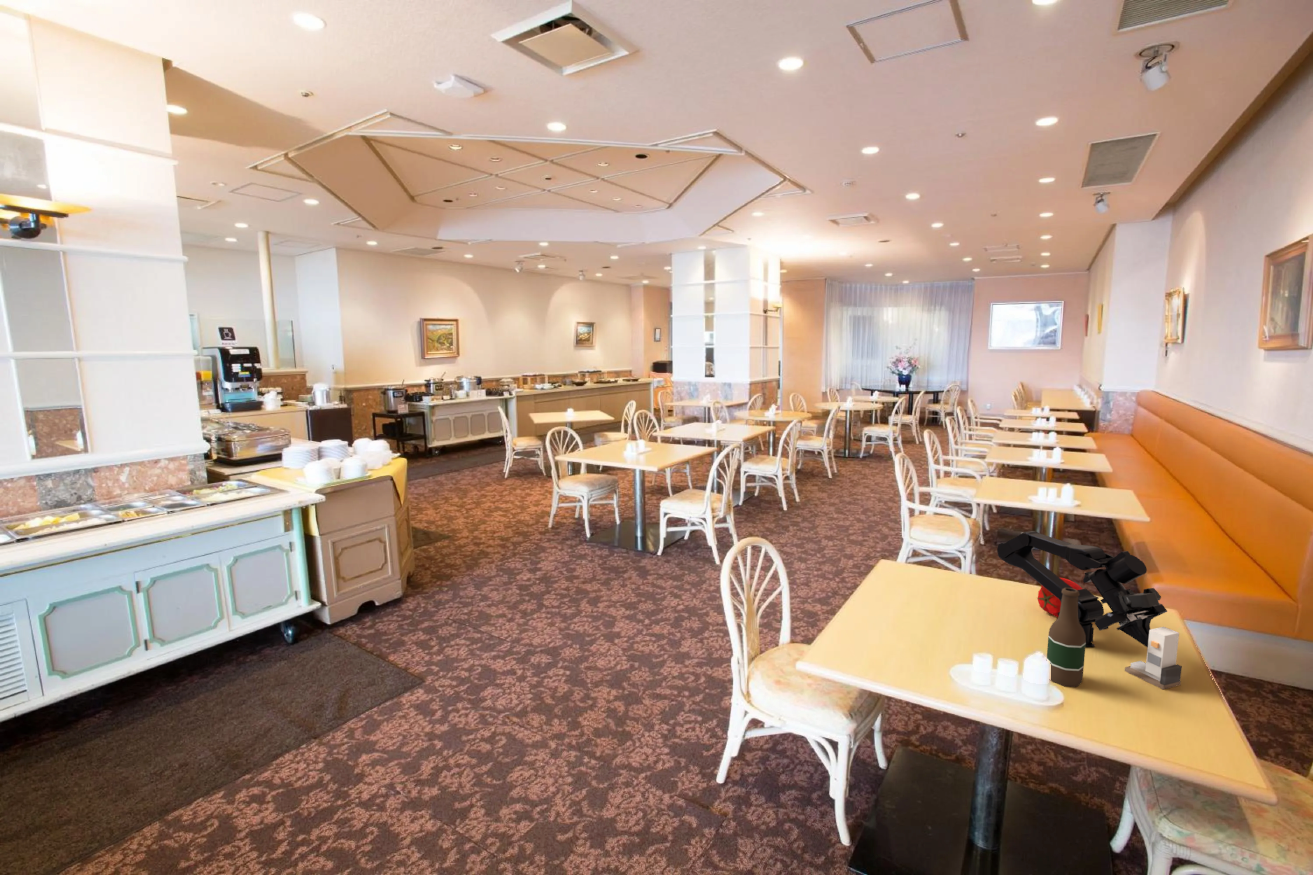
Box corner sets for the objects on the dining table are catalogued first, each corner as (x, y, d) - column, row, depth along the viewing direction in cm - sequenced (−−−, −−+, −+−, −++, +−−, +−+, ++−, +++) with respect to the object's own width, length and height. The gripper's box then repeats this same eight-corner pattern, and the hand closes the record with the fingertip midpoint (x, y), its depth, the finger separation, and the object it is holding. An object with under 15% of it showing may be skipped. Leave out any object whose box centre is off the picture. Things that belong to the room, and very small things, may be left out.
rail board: (1124, 670, 157) (1126, 652, 156) (1141, 666, 158) (1143, 648, 158) (1163, 689, 148) (1165, 670, 147) (1180, 684, 150) (1182, 666, 149)
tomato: (1073, 618, 193) (1037, 624, 191) (1057, 579, 198) (1021, 584, 196) (1105, 612, 182) (1067, 617, 179) (1086, 570, 187) (1049, 575, 184)
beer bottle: (1083, 691, 148) (1091, 598, 145) (1045, 682, 152) (1052, 592, 149) (1081, 676, 155) (1088, 587, 151) (1045, 668, 159) (1051, 581, 155)
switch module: (1143, 671, 152) (1147, 630, 150) (1159, 667, 154) (1163, 626, 152) (1158, 678, 149) (1163, 636, 147) (1174, 674, 150) (1179, 632, 149)
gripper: (1110, 583, 152) (1153, 643, 143) (1162, 573, 158) (1207, 631, 149) (1077, 600, 161) (1116, 659, 152) (1128, 590, 166) (1169, 646, 157)
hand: (1153, 648), depth 152 cm, fingers closed, pressing on switch module
